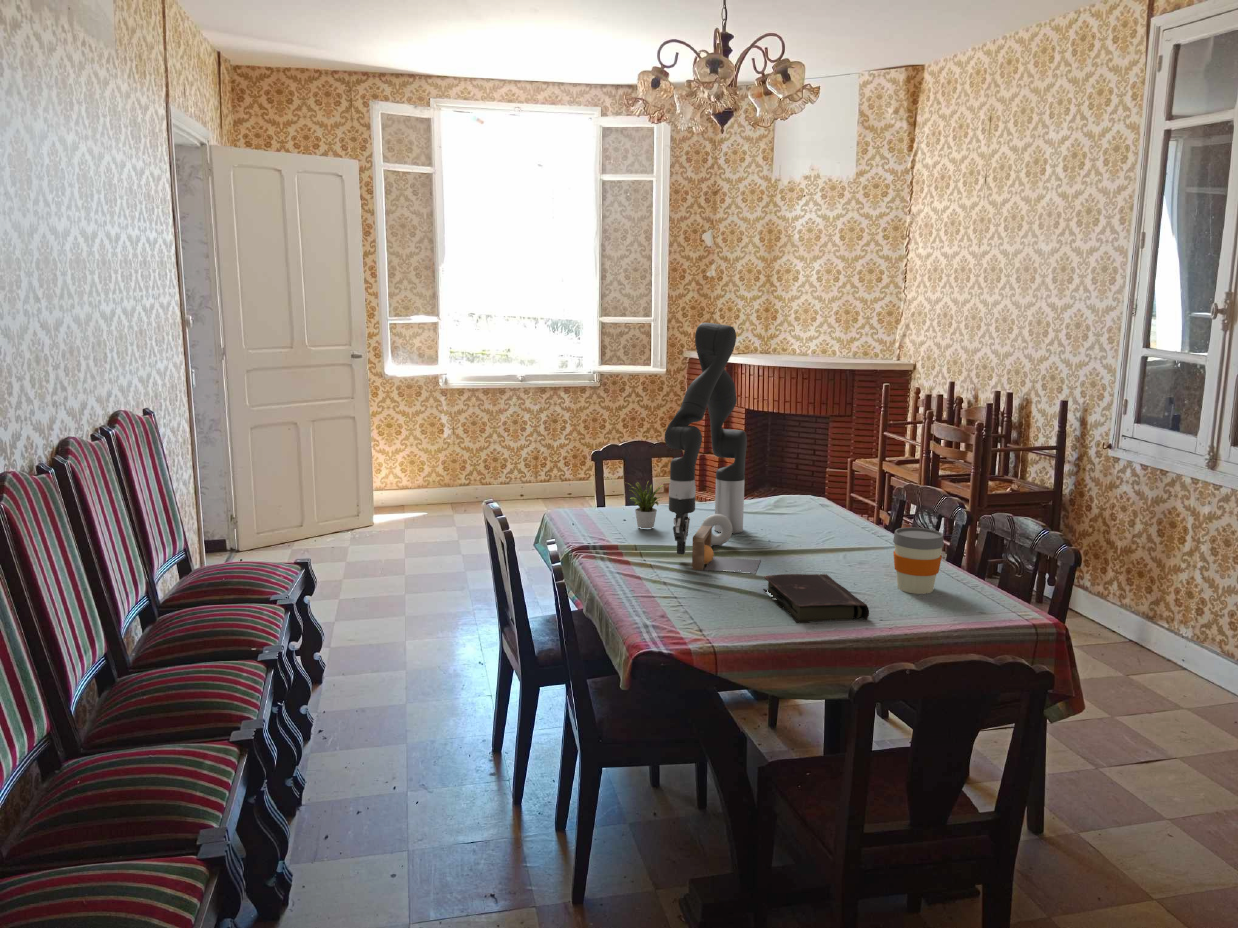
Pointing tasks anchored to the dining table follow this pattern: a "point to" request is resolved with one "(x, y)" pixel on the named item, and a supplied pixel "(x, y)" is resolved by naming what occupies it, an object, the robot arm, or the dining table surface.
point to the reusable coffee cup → (917, 558)
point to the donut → (725, 526)
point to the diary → (814, 598)
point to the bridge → (700, 546)
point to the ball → (708, 554)
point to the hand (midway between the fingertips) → (681, 553)
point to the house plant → (645, 506)
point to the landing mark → (733, 564)
